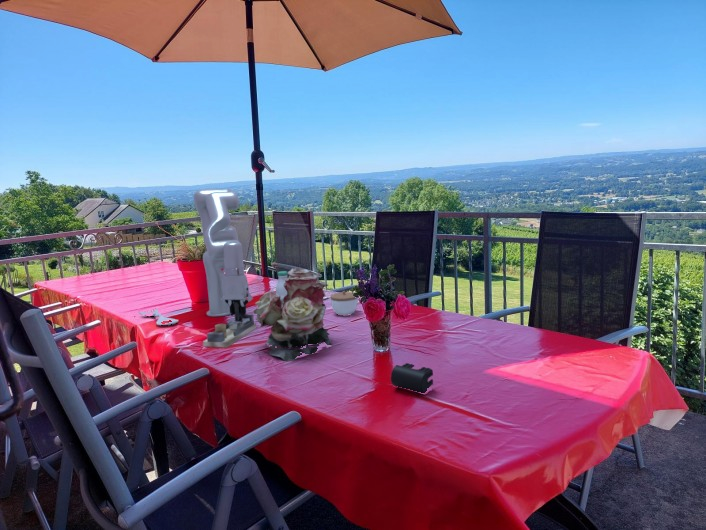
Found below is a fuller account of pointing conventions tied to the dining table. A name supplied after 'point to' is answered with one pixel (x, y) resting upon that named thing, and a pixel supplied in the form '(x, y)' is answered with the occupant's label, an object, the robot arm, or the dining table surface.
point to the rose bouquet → (295, 315)
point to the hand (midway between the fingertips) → (238, 314)
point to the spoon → (160, 317)
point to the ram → (237, 317)
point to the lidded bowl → (344, 303)
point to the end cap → (411, 377)
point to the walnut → (221, 329)
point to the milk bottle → (281, 283)
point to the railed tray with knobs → (229, 334)
